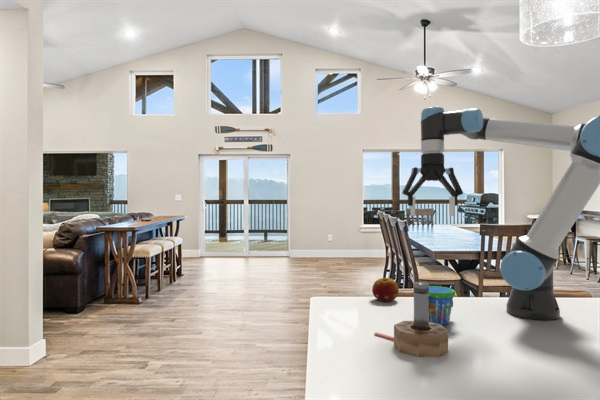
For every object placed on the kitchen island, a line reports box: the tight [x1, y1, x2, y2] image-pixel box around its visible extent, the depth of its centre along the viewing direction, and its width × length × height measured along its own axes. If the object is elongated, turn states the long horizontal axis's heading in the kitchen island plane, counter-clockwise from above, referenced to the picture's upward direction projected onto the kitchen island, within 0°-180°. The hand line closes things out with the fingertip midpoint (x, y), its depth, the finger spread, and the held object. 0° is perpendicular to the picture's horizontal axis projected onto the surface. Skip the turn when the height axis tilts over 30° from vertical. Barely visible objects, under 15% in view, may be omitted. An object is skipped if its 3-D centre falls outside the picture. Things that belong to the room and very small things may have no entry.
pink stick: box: [374, 332, 394, 342], centre depth 109 cm, size 12×1×1 cm, turn 43°
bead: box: [393, 320, 449, 358], centre depth 103 cm, size 12×12×5 cm
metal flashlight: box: [413, 281, 430, 331], centre depth 103 cm, size 4×4×16 cm
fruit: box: [371, 277, 400, 302], centre depth 153 cm, size 10×9×8 cm
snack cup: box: [429, 285, 456, 326], centre depth 125 cm, size 16×10×10 cm
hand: (432, 215), depth 141 cm, fingers open, 13 cm apart
